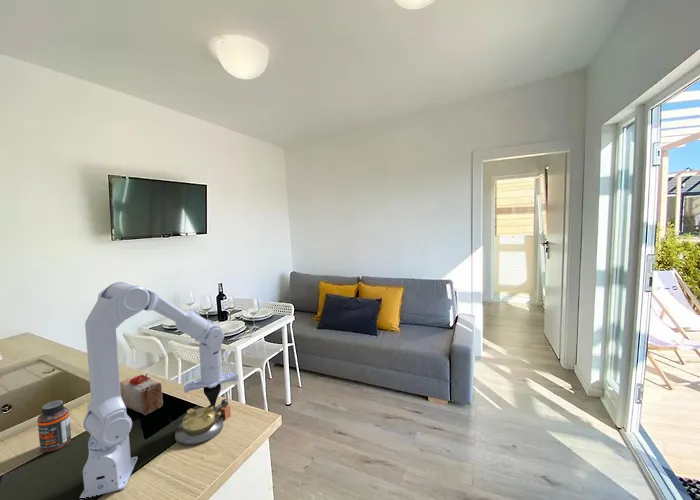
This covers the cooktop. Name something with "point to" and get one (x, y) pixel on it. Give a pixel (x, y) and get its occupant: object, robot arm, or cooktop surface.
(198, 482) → the cooktop surface
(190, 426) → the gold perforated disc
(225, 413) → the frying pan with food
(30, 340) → the cooktop surface
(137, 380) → the food item
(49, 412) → the supplement bottle
